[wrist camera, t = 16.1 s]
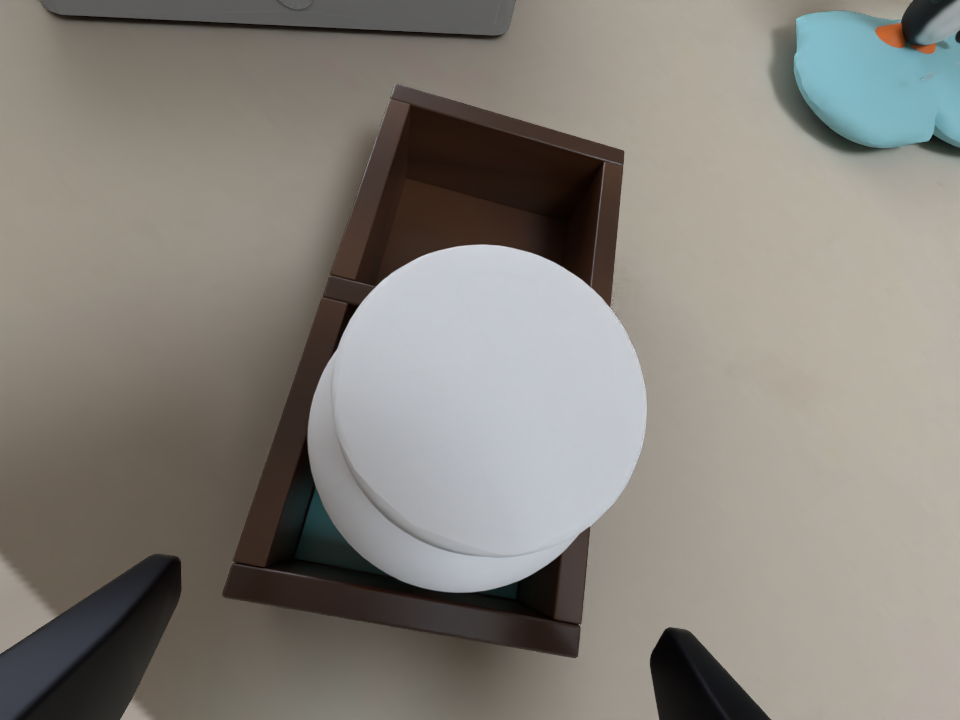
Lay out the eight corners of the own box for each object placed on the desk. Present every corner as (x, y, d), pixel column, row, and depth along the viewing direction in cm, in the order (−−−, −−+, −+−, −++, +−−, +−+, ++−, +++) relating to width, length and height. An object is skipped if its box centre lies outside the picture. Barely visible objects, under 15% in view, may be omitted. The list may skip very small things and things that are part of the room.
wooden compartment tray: (530, 627, 17) (578, 659, 13) (264, 580, 16) (219, 597, 12) (581, 220, 23) (625, 150, 19) (393, 168, 22) (394, 82, 18)
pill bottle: (345, 385, 18) (290, 180, 7) (510, 387, 19) (660, 213, 9) (335, 570, 16) (238, 644, 5) (520, 560, 17) (734, 607, 6)
